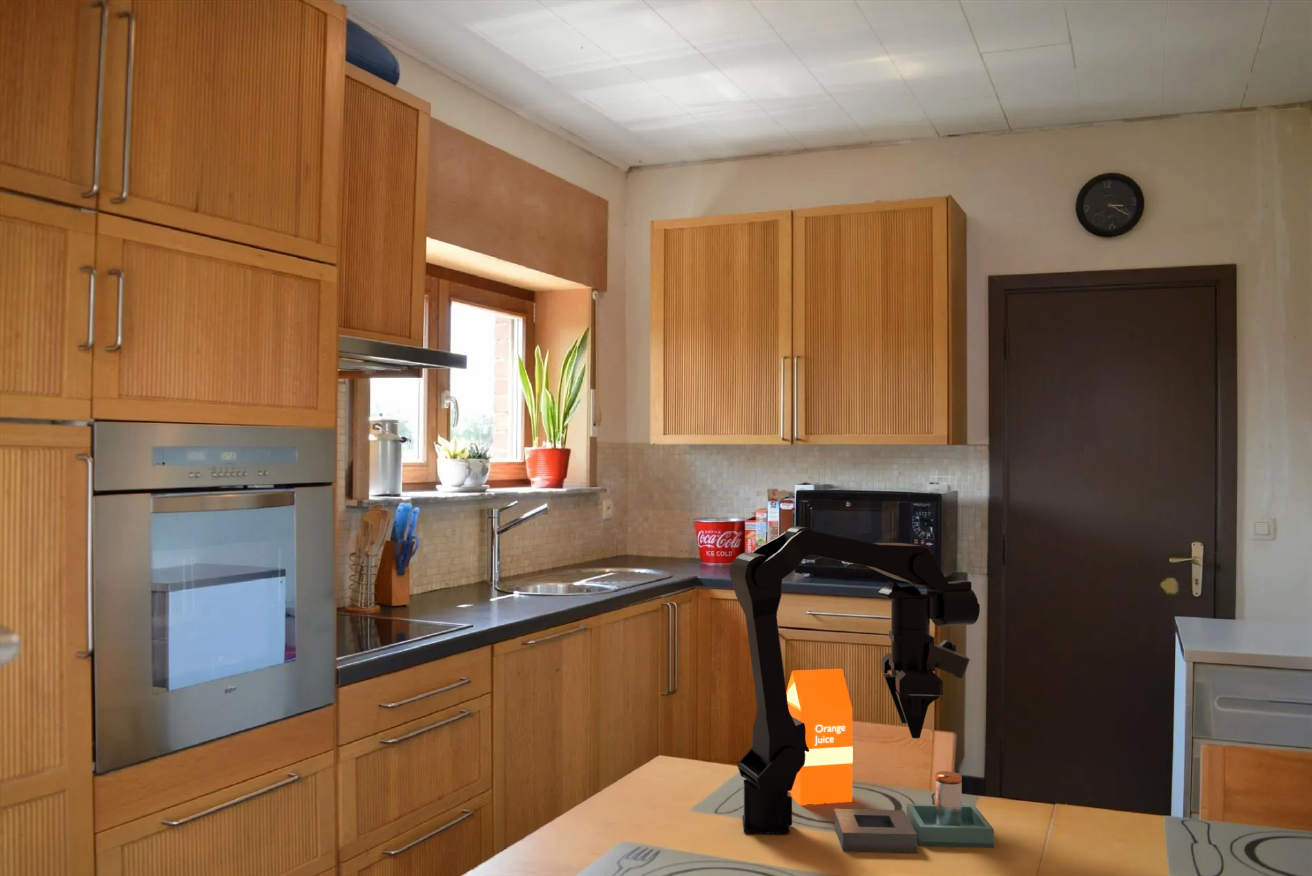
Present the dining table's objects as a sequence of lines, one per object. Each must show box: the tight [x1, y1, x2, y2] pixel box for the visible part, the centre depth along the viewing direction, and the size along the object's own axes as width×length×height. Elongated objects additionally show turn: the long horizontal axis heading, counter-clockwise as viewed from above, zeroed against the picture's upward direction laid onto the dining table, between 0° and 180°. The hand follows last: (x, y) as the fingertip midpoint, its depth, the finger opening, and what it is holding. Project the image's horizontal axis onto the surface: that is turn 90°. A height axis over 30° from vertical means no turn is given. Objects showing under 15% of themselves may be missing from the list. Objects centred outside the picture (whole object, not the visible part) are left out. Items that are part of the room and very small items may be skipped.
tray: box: [906, 803, 995, 848], centre depth 149 cm, size 10×10×2 cm
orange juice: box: [786, 668, 854, 806], centre depth 166 cm, size 8×9×20 cm
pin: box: [934, 770, 963, 826], centre depth 149 cm, size 4×4×8 cm
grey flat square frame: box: [833, 808, 918, 854], centre depth 147 cm, size 10×10×2 cm
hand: (910, 730), depth 158 cm, fingers open, 9 cm apart
